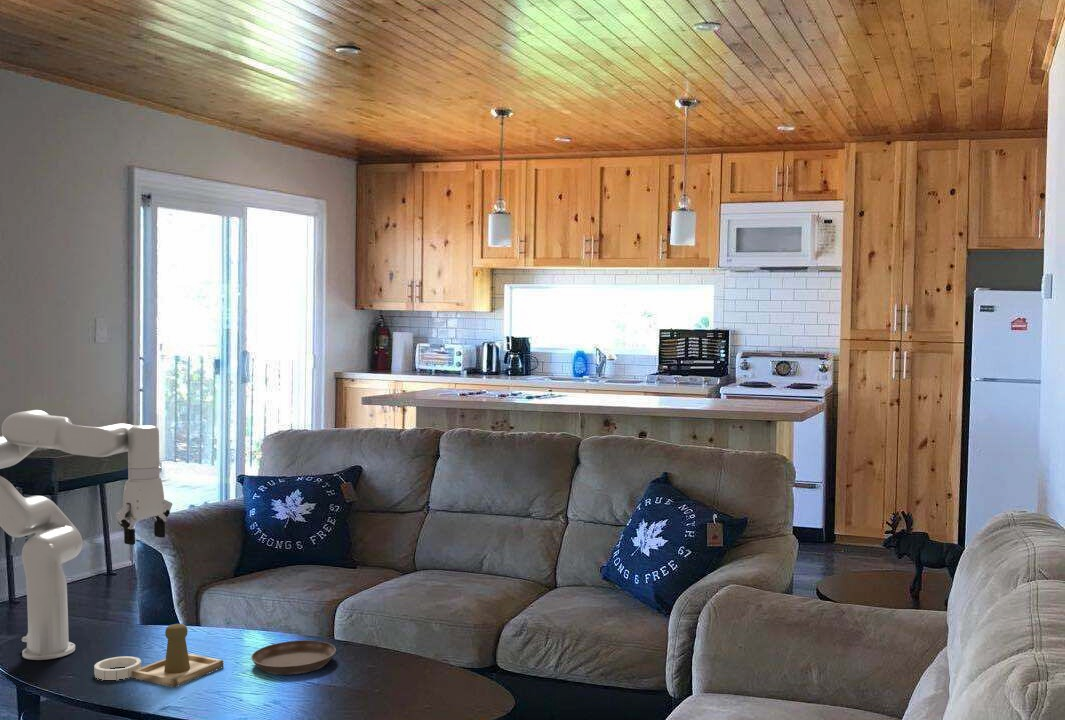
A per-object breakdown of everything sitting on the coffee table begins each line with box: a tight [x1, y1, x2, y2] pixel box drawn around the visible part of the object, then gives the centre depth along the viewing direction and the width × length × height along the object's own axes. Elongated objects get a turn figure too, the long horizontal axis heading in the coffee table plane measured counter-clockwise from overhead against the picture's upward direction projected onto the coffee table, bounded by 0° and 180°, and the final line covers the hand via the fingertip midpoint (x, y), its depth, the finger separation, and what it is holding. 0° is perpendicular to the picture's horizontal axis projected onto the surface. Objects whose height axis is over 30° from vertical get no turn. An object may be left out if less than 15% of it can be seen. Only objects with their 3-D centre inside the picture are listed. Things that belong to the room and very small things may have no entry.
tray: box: [131, 652, 224, 688], centre depth 266 cm, size 14×16×2 cm
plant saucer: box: [251, 639, 337, 676], centre depth 272 cm, size 21×21×3 cm
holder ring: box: [93, 655, 143, 681], centre depth 266 cm, size 10×10×2 cm
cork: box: [164, 623, 190, 673], centre depth 266 cm, size 6×6×11 cm
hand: (144, 540), depth 278 cm, fingers open, 9 cm apart
